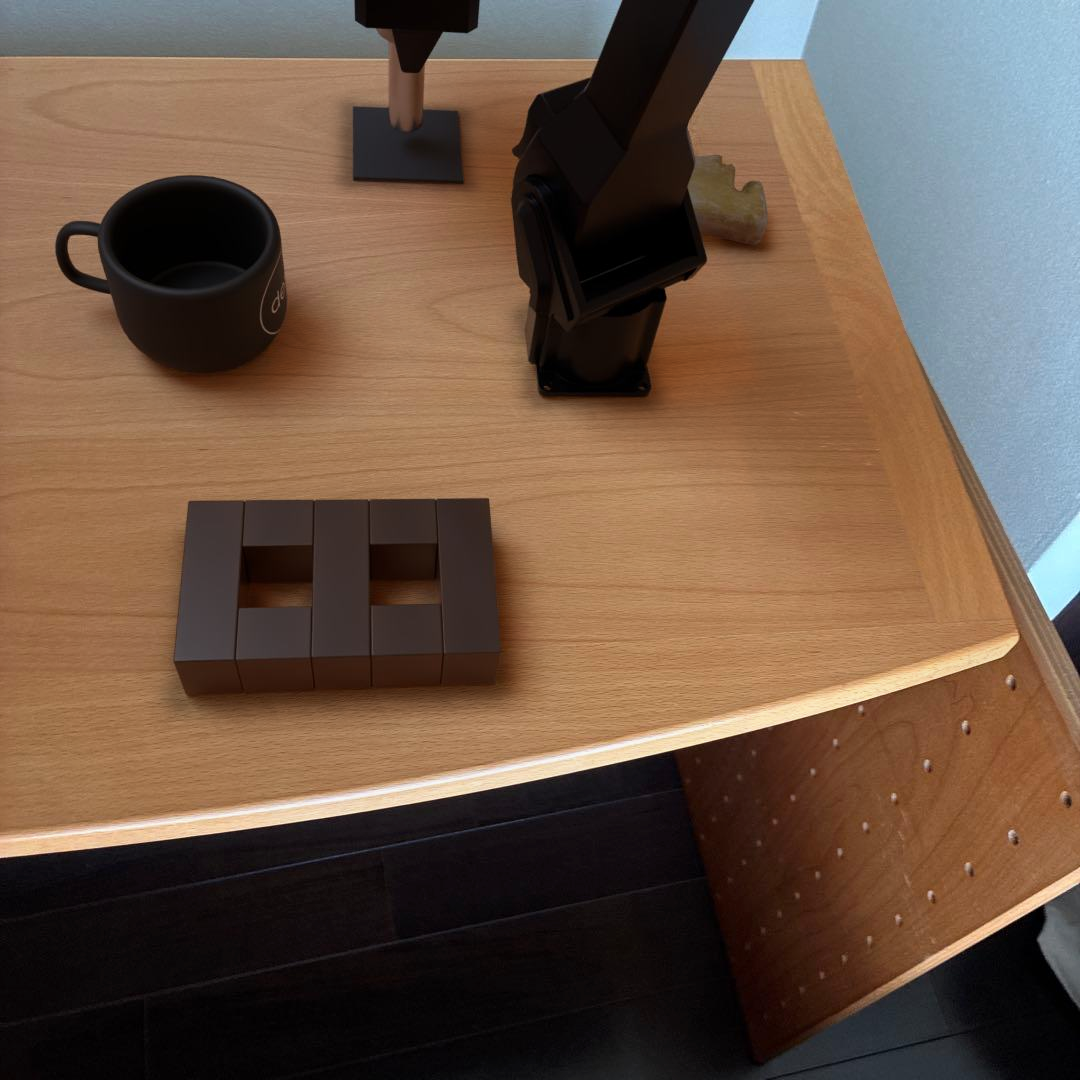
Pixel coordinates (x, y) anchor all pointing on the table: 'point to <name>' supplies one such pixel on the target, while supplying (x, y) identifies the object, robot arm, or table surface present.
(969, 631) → the table surface
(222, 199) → the mug
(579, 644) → the table surface
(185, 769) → the table surface
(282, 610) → the board
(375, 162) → the pad
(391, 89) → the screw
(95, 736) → the table surface
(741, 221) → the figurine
